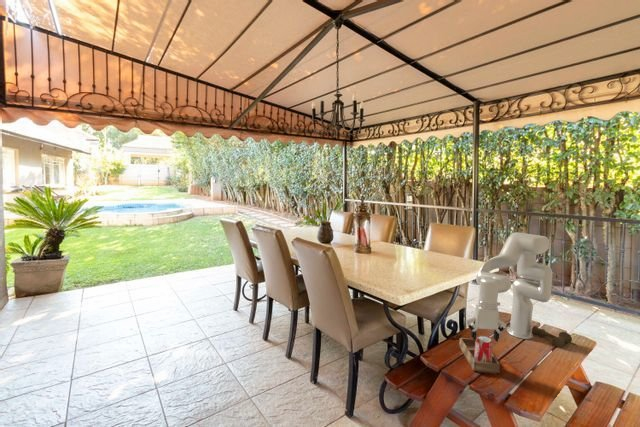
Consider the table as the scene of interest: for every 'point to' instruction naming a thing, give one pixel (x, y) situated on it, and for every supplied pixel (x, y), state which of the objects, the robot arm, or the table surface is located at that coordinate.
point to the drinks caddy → (469, 350)
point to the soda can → (483, 349)
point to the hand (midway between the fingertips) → (484, 339)
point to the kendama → (554, 337)
